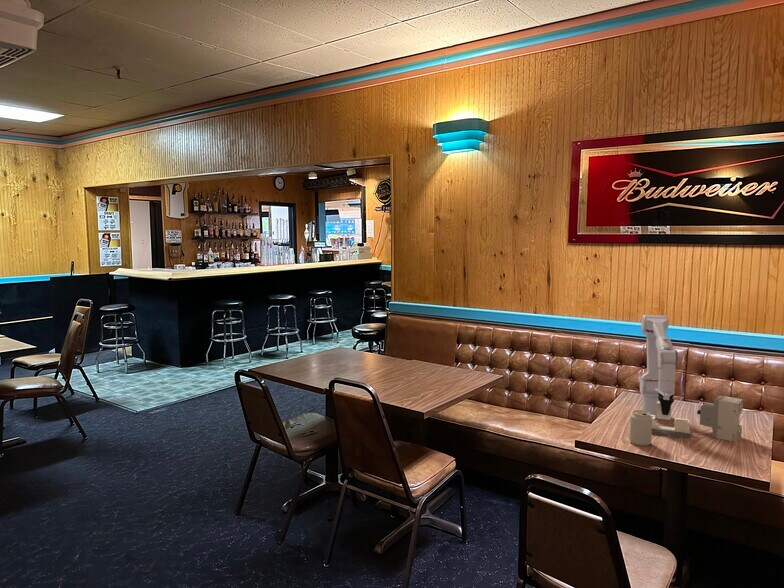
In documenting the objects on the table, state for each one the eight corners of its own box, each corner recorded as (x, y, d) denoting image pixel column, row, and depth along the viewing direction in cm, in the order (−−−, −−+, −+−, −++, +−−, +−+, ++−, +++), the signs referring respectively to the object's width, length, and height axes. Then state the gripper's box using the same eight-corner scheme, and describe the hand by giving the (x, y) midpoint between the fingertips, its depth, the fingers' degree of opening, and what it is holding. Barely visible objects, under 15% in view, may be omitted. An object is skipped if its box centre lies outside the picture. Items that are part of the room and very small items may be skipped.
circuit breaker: (700, 428, 214) (702, 392, 213) (741, 437, 204) (743, 399, 203) (694, 432, 209) (696, 395, 208) (736, 442, 199) (738, 403, 197)
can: (652, 448, 193) (653, 416, 192) (629, 445, 196) (631, 414, 195) (649, 440, 200) (651, 410, 199) (628, 438, 203) (629, 408, 202)
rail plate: (639, 431, 210) (639, 418, 210) (639, 424, 218) (640, 411, 218) (690, 438, 202) (691, 424, 202) (689, 431, 210) (690, 417, 210)
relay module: (656, 418, 209) (656, 403, 208) (656, 415, 213) (656, 400, 212) (670, 419, 207) (671, 404, 206) (670, 416, 211) (670, 401, 210)
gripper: (655, 374, 216) (654, 406, 218) (655, 382, 204) (653, 416, 205) (674, 376, 213) (673, 408, 215) (676, 384, 200) (674, 419, 202)
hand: (665, 413), depth 209 cm, fingers closed on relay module, 4 cm apart
